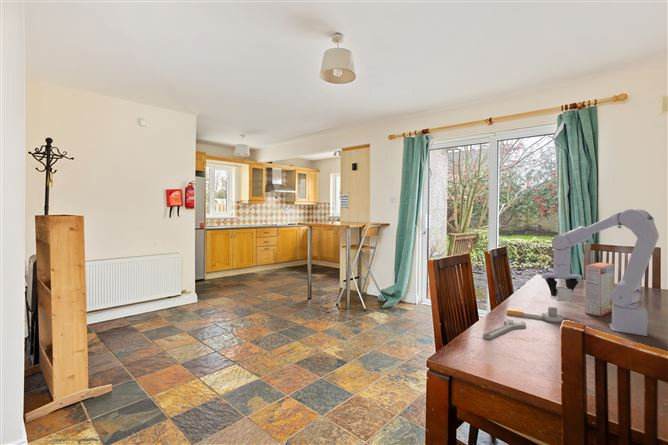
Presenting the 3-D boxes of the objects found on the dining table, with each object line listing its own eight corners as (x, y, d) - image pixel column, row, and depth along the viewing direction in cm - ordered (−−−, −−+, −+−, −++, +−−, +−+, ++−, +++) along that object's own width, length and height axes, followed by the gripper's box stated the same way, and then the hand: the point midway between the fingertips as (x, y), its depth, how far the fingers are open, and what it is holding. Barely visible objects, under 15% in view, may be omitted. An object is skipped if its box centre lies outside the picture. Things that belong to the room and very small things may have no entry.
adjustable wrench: (489, 341, 110) (489, 336, 110) (472, 335, 115) (472, 330, 115) (528, 327, 123) (528, 322, 123) (511, 322, 128) (511, 318, 128)
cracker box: (596, 308, 147) (598, 262, 147) (613, 311, 142) (615, 263, 141) (583, 313, 140) (584, 264, 139) (600, 317, 135) (602, 266, 134)
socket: (564, 298, 140) (564, 286, 139) (571, 301, 134) (571, 289, 134) (550, 297, 140) (550, 286, 140) (557, 301, 135) (557, 289, 135)
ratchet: (562, 319, 131) (562, 307, 131) (563, 324, 125) (563, 311, 125) (507, 311, 142) (507, 300, 141) (506, 315, 136) (506, 303, 135)
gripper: (575, 262, 140) (574, 294, 140) (538, 262, 142) (537, 293, 142) (585, 265, 133) (584, 298, 133) (546, 264, 135) (546, 297, 135)
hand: (561, 296), depth 137 cm, fingers closed on socket, 5 cm apart
